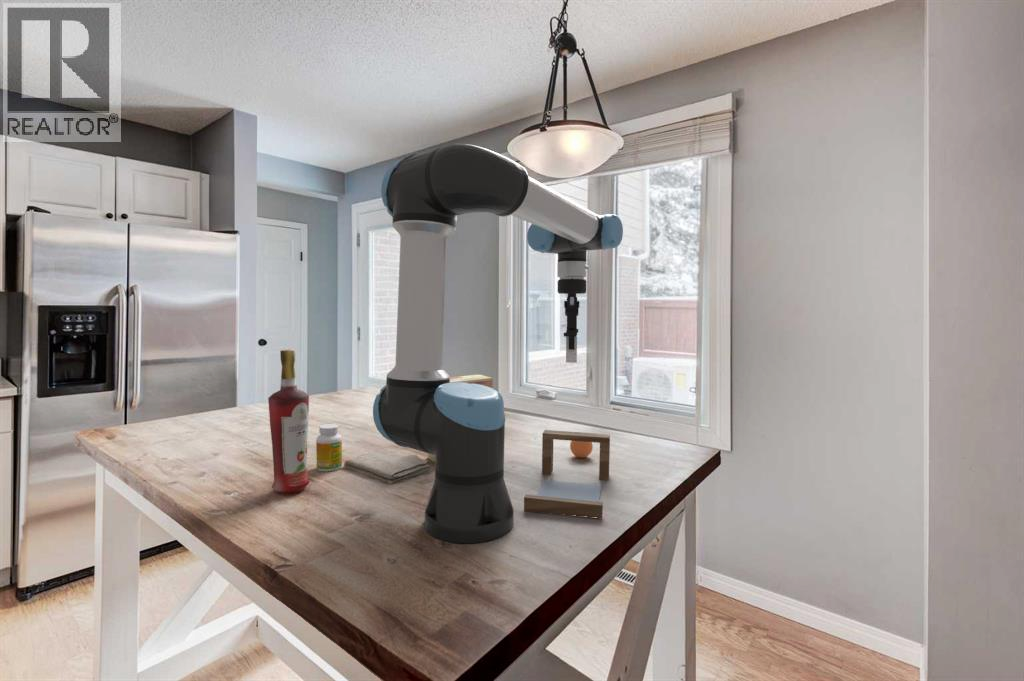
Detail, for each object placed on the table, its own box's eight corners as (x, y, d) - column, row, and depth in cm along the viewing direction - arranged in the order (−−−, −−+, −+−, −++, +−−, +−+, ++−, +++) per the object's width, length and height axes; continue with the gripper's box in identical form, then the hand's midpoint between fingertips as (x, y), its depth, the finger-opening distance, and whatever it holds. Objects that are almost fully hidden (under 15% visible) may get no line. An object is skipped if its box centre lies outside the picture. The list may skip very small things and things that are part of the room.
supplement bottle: (333, 473, 109) (333, 429, 108) (311, 471, 110) (310, 428, 109) (346, 465, 114) (346, 424, 113) (325, 463, 115) (325, 422, 114)
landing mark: (597, 509, 91) (597, 508, 91) (533, 502, 94) (533, 501, 94) (601, 486, 102) (601, 485, 102) (544, 480, 105) (544, 479, 105)
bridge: (608, 479, 106) (609, 437, 105) (541, 473, 109) (542, 433, 109) (609, 475, 109) (610, 434, 108) (544, 469, 112) (544, 429, 112)
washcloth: (393, 487, 102) (393, 473, 102) (341, 469, 113) (341, 456, 112) (434, 472, 112) (434, 459, 111) (383, 457, 122) (383, 445, 122)
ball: (591, 461, 119) (592, 439, 118) (568, 459, 120) (569, 437, 119) (593, 454, 124) (593, 433, 123) (571, 453, 125) (571, 431, 125)
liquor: (294, 481, 103) (291, 348, 101) (318, 487, 100) (316, 350, 98) (262, 493, 97) (258, 351, 95) (287, 500, 94) (284, 353, 91)
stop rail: (602, 519, 86) (602, 505, 86) (523, 510, 90) (524, 497, 90) (602, 515, 88) (602, 502, 88) (525, 507, 91) (525, 494, 91)
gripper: (588, 276, 117) (587, 365, 118) (584, 280, 141) (584, 354, 143) (556, 276, 117) (555, 365, 119) (558, 280, 142) (558, 353, 144)
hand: (571, 359), depth 131 cm, fingers open, 13 cm apart
